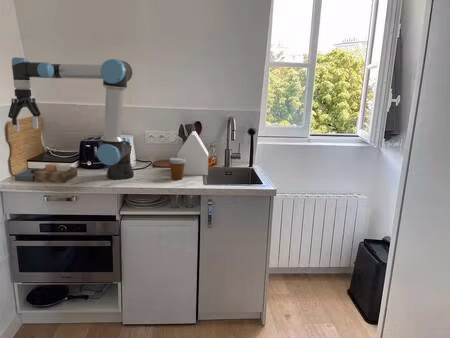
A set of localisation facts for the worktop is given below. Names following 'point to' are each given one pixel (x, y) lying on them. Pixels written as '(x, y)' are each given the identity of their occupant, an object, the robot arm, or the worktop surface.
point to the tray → (26, 175)
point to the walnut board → (55, 175)
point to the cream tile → (63, 167)
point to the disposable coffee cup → (177, 167)
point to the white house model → (194, 156)
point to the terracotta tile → (51, 166)
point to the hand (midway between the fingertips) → (26, 129)
